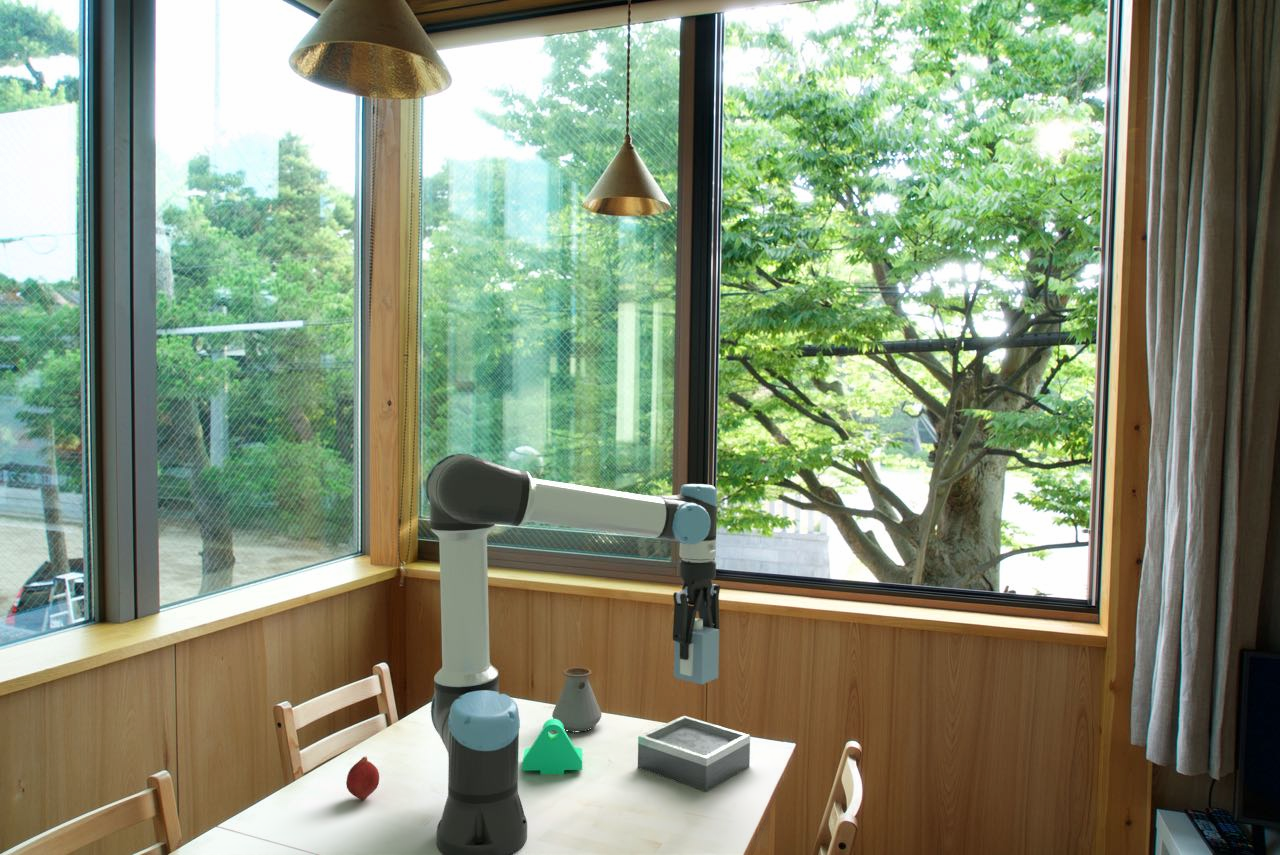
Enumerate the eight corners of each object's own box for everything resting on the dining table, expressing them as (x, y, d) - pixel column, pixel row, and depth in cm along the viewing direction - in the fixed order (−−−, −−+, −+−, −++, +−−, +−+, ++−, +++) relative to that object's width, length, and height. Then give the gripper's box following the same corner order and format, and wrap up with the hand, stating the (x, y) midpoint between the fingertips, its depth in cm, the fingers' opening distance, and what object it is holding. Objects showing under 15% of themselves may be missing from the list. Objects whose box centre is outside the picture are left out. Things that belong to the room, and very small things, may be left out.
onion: (344, 808, 151) (345, 764, 151) (347, 794, 156) (348, 751, 156) (378, 804, 152) (379, 761, 152) (379, 791, 158) (380, 749, 158)
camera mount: (581, 759, 175) (582, 711, 175) (581, 775, 167) (582, 724, 167) (524, 760, 174) (525, 711, 174) (522, 775, 166) (522, 724, 166)
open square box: (705, 792, 160) (706, 758, 160) (637, 767, 171) (638, 736, 171) (749, 766, 172) (750, 735, 172) (683, 744, 183) (683, 715, 183)
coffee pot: (551, 718, 198) (552, 655, 198) (598, 716, 199) (600, 654, 199) (554, 754, 177) (556, 684, 177) (608, 752, 178) (609, 682, 178)
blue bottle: (701, 684, 167) (702, 625, 167) (673, 677, 171) (674, 619, 171) (718, 677, 171) (719, 619, 171) (690, 670, 176) (691, 614, 176)
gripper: (685, 567, 161) (683, 685, 161) (738, 555, 176) (736, 664, 176) (655, 562, 166) (653, 677, 166) (708, 551, 181) (707, 657, 181)
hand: (695, 670), depth 171 cm, fingers closed on blue bottle, 6 cm apart
